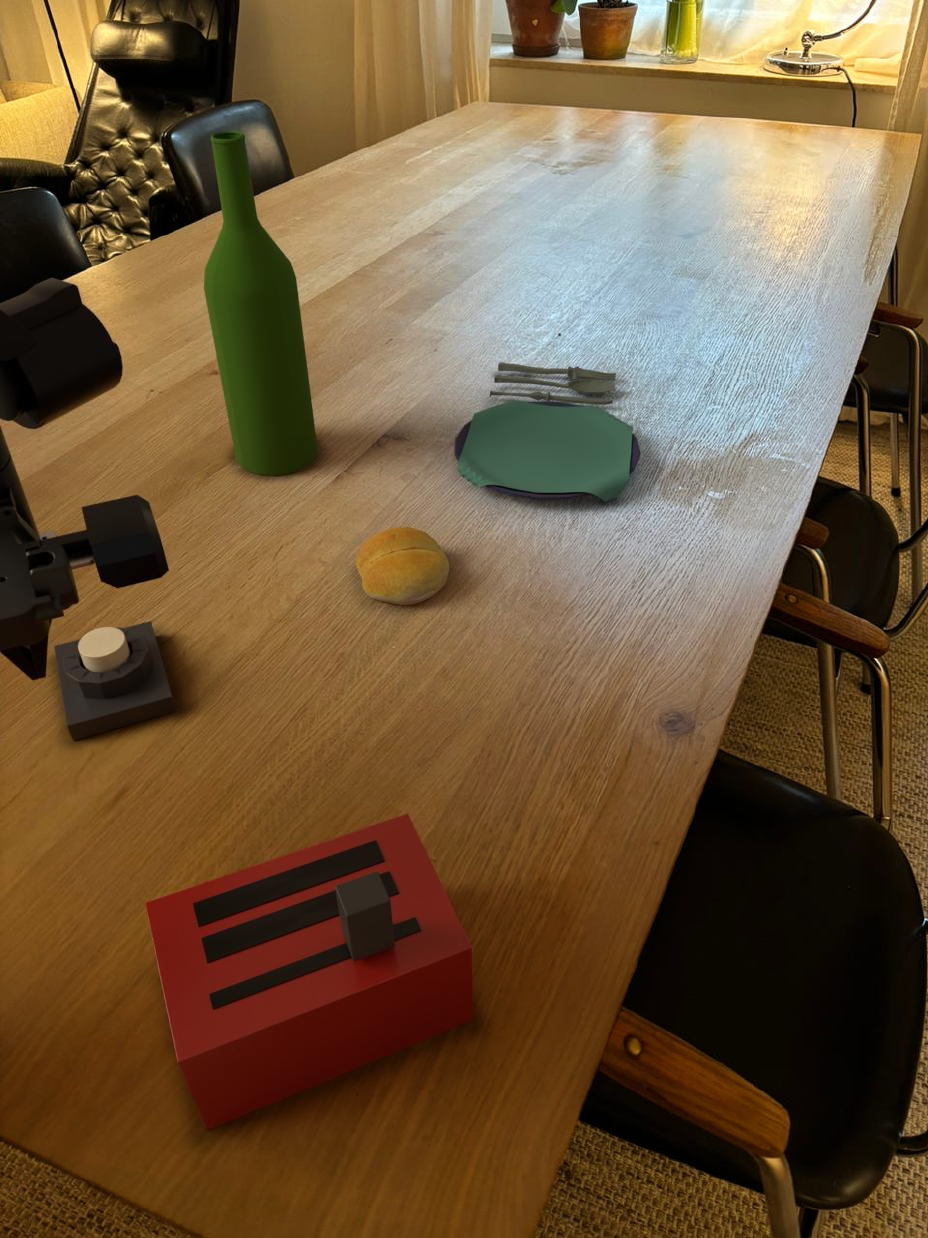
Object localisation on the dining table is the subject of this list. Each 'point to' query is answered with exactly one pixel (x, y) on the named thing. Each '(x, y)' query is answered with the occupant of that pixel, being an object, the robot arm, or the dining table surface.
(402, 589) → the bread roll
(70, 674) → the block
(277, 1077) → the toaster
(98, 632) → the button
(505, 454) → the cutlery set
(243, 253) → the wine bottle
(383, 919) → the slider
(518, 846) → the dining table surface
